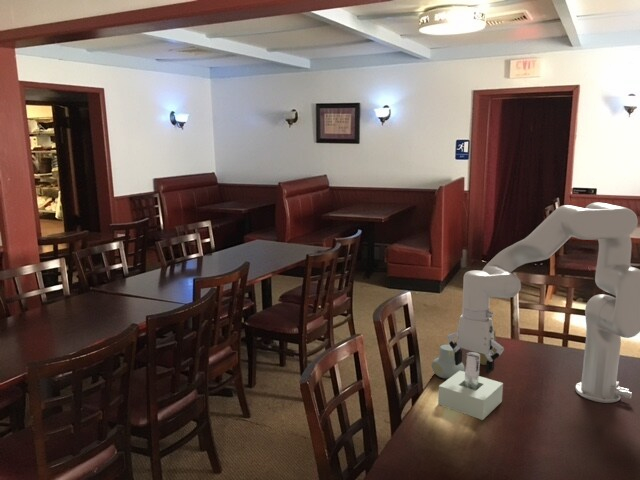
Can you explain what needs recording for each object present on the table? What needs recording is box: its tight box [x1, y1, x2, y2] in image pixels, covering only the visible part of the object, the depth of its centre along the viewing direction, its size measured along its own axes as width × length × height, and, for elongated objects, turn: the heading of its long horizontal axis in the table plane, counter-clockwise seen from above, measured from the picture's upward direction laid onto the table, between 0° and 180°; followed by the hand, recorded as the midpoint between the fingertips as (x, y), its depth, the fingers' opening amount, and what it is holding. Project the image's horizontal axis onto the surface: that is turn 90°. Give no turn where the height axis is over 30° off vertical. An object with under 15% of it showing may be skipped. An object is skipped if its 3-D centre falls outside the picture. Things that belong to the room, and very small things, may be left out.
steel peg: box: [464, 351, 481, 391], centre depth 161 cm, size 4×4×14 cm
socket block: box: [437, 371, 504, 421], centre depth 162 cm, size 14×14×6 cm
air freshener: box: [431, 343, 465, 380], centre depth 180 cm, size 11×8×10 cm
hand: (473, 367), depth 161 cm, fingers open, 9 cm apart
